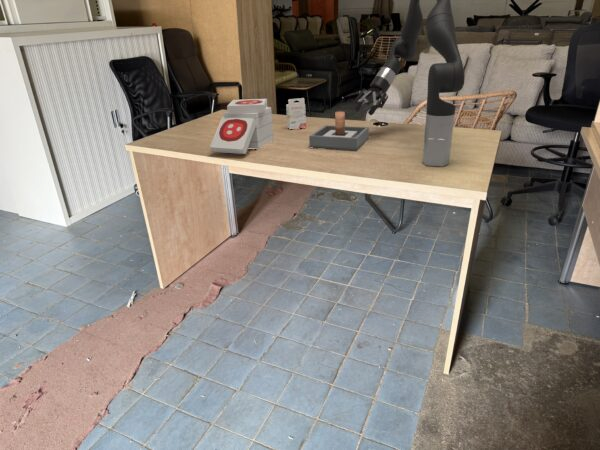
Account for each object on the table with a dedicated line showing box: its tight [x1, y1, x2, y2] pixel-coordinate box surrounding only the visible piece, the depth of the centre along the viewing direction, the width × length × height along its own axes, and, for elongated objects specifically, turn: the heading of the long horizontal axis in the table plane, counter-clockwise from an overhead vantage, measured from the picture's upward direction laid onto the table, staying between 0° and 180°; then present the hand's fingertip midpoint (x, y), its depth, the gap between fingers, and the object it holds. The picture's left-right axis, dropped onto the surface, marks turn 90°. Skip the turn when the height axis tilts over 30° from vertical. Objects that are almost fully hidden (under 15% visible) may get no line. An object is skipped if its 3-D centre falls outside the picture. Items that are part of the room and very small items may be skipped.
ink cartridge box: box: [285, 97, 307, 130], centre depth 204 cm, size 9×5×15 cm, turn 105°
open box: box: [308, 124, 370, 152], centre depth 178 cm, size 20×20×5 cm
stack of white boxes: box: [209, 98, 274, 155], centre depth 175 cm, size 19×30×18 cm, turn 158°
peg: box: [334, 110, 346, 136], centre depth 176 cm, size 4×4×12 cm
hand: (362, 112), depth 180 cm, fingers open, 8 cm apart
